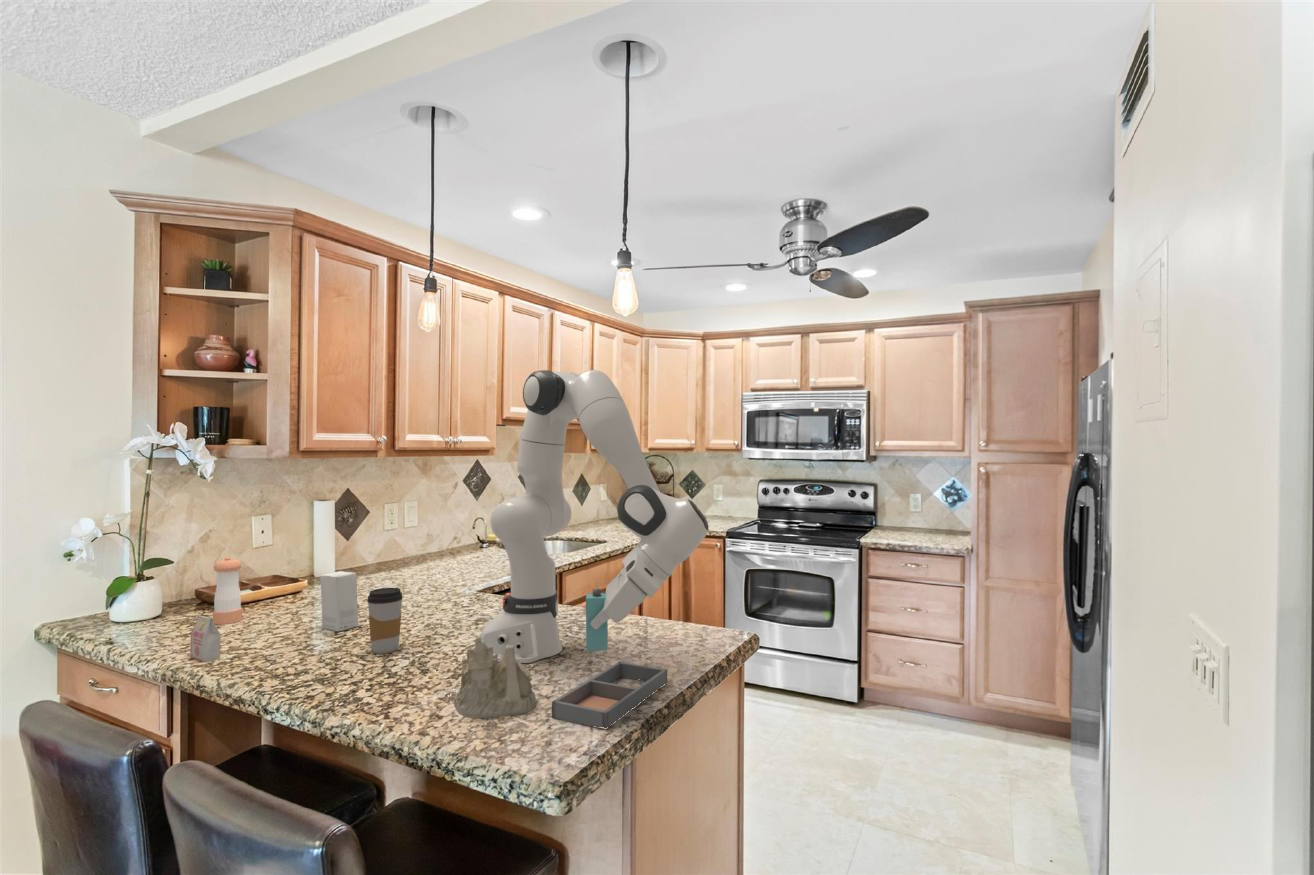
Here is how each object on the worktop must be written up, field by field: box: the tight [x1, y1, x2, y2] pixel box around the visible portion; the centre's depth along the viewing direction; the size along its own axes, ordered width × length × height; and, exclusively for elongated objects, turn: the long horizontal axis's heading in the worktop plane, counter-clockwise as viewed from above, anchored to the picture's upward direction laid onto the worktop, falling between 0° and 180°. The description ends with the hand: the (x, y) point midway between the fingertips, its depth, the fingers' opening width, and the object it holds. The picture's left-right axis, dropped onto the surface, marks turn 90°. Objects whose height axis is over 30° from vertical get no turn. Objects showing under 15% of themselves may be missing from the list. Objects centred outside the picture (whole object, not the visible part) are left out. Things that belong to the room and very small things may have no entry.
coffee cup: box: [366, 587, 403, 655], centre depth 162 cm, size 8×8×15 cm
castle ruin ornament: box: [453, 635, 538, 719], centre depth 129 cm, size 16×16×15 cm
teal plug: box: [585, 588, 609, 652], centre depth 124 cm, size 4×4×11 cm
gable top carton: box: [189, 615, 221, 663], centre depth 157 cm, size 4×7×10 cm, turn 58°
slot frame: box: [551, 661, 668, 728], centre depth 129 cm, size 25×12×3 cm, turn 153°
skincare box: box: [320, 570, 359, 632], centre depth 183 cm, size 8×7×16 cm
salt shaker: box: [212, 556, 243, 625], centre depth 191 cm, size 7×7×19 cm
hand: (593, 622), depth 123 cm, fingers closed on teal plug, 4 cm apart
